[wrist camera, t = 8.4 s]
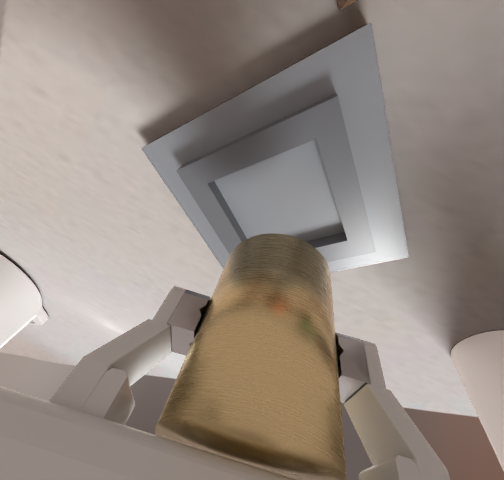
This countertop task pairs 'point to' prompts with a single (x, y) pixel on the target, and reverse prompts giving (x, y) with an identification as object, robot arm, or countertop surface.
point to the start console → (345, 3)
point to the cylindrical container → (484, 382)
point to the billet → (265, 365)
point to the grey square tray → (294, 161)
